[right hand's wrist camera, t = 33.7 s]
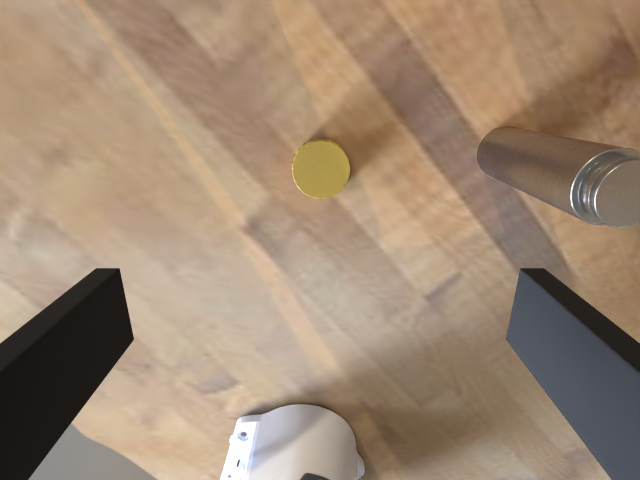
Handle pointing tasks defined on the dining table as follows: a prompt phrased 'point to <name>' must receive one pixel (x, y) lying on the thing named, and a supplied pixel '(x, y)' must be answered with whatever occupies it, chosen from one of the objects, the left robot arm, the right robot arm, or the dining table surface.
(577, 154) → the jar
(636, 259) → the dining table surface
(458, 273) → the dining table surface
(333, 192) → the lid
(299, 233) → the dining table surface
